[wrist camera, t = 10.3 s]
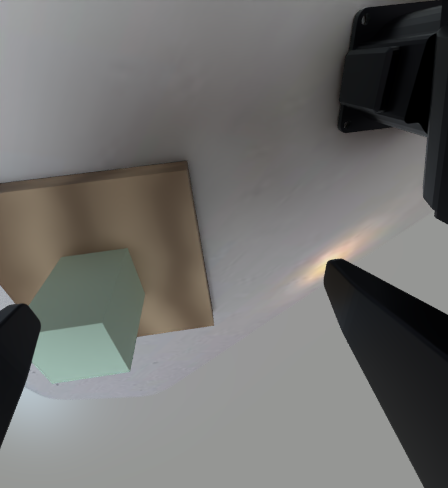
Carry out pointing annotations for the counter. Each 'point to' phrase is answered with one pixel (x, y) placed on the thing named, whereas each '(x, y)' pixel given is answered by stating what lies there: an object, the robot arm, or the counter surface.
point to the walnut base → (111, 237)
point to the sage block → (88, 316)
